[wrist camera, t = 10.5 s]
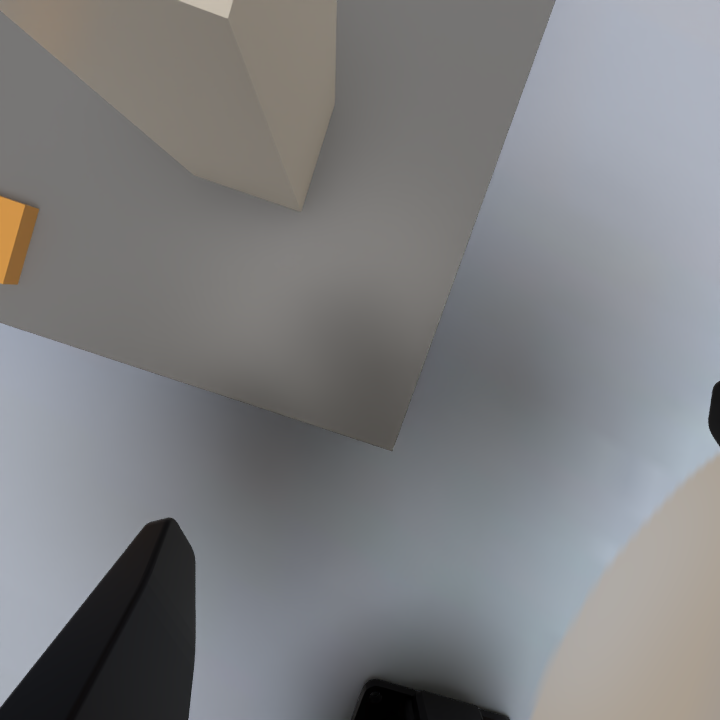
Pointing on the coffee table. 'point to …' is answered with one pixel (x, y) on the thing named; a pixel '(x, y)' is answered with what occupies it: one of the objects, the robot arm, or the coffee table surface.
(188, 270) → the socket board
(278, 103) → the plug
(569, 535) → the coffee table surface
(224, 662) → the coffee table surface
